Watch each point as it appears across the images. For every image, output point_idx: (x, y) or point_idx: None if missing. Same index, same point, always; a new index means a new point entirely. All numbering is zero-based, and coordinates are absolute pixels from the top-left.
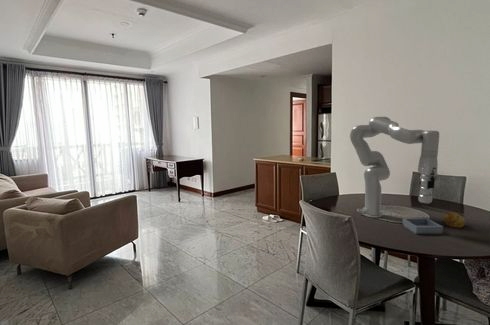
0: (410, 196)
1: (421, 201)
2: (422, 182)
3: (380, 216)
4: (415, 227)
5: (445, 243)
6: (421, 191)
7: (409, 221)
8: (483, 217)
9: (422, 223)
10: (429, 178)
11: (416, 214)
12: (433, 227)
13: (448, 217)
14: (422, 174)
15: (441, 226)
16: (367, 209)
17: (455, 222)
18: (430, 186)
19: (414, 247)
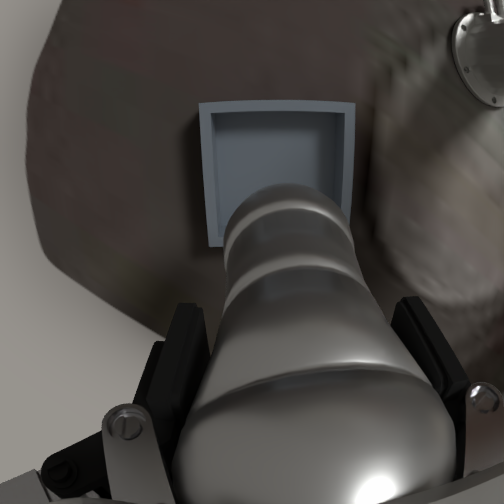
0: None
1: (261, 188)
2: (287, 317)
3: (458, 67)
4: (209, 102)
5: (106, 182)
6: (288, 231)
7: (339, 136)
8: None
9: None
10: (120, 451)
11: (460, 261)
12: (205, 197)
13: None
14: (361, 498)
15: (212, 241)
16: (490, 16)
17: None
18: (156, 341)
19: (67, 45)
